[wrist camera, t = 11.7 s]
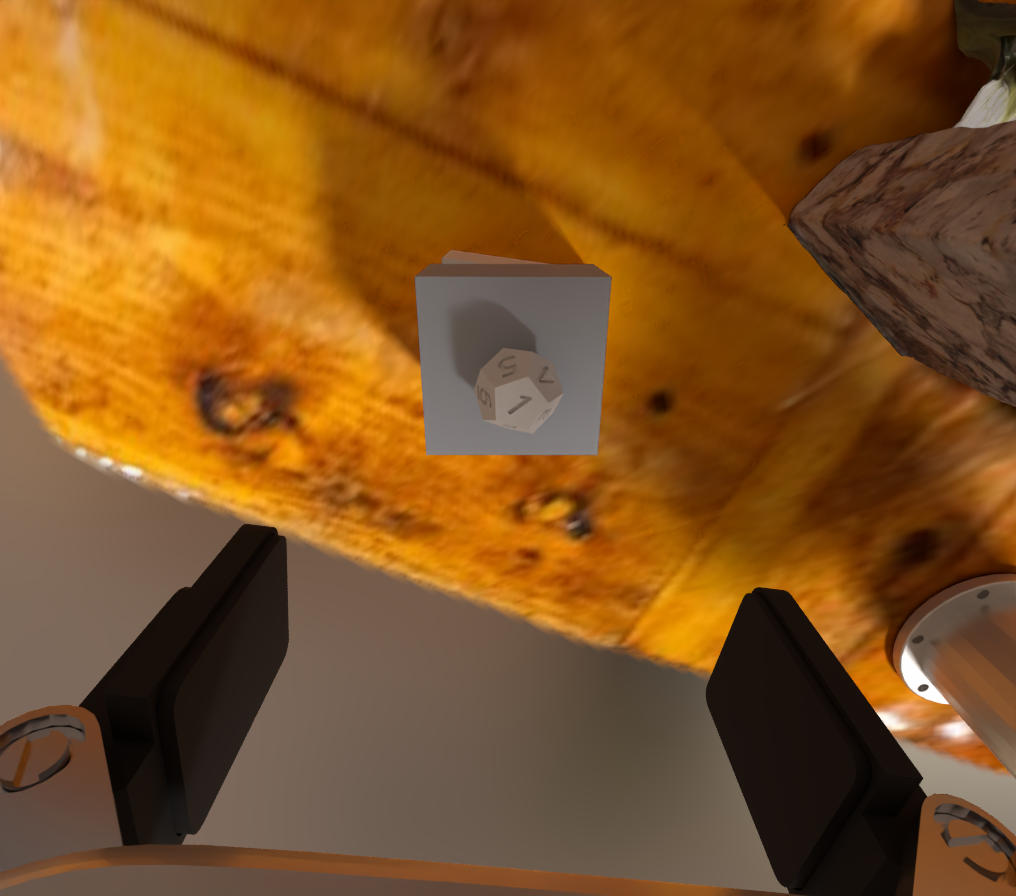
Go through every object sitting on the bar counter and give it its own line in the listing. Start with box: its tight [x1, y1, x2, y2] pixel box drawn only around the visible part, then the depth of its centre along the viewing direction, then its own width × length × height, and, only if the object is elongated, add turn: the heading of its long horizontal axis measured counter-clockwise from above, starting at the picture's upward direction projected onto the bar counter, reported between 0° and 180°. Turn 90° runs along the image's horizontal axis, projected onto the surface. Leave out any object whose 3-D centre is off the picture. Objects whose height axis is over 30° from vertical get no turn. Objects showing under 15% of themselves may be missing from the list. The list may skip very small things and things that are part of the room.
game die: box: [474, 348, 564, 434], centre depth 22 cm, size 4×4×3 cm
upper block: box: [415, 264, 612, 455], centre depth 26 cm, size 8×8×5 cm
